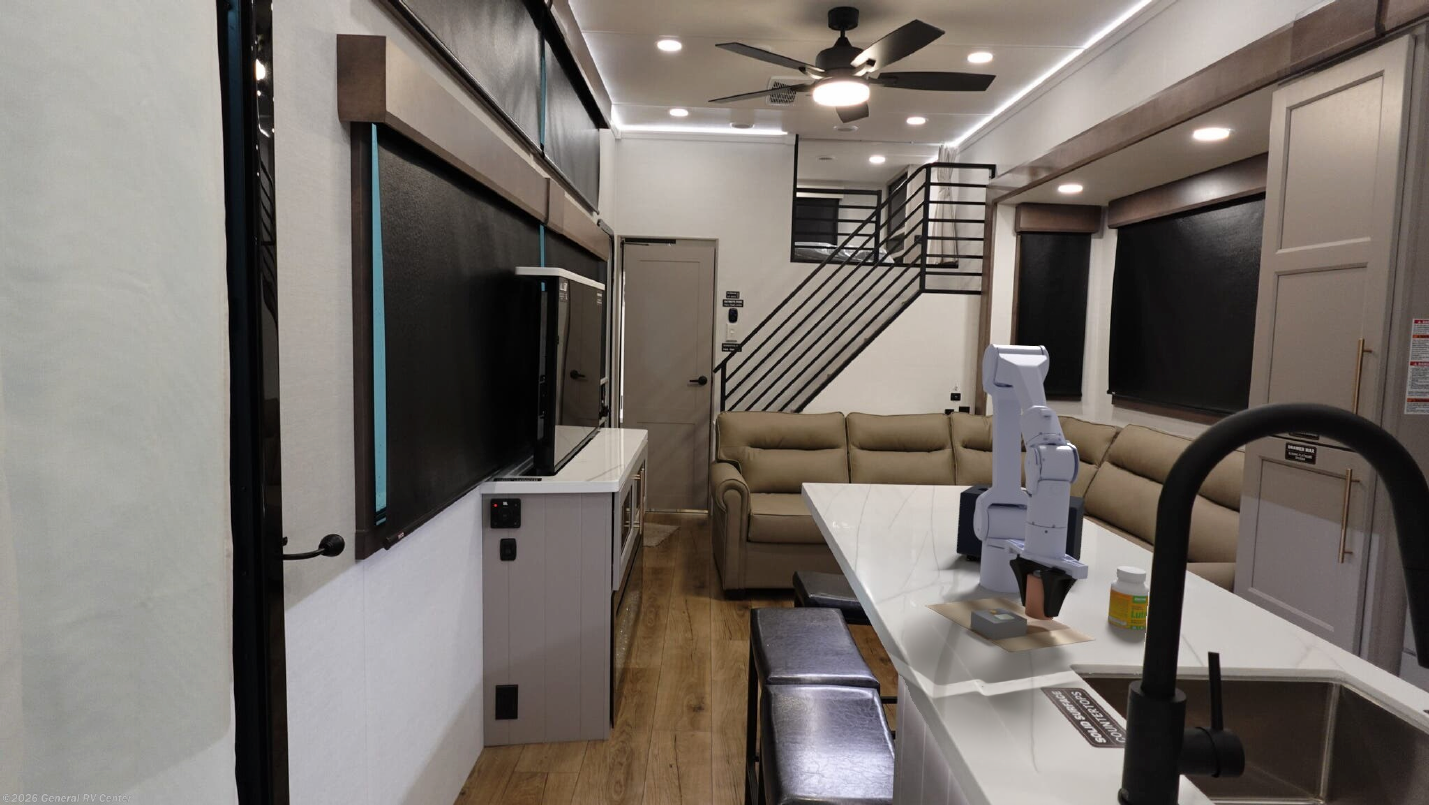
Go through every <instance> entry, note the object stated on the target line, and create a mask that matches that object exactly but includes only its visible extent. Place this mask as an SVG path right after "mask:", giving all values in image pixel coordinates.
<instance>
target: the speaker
mask: <svg viewBox="0 0 1429 805" xmlns="http://www.w3.org/2000/svg"><path fill="white" fill-rule="evenodd" d="M991 487H992V485H990V484H982V483H975V484H974V485H972V486H969V487H968V488H966V489H965V490H963V491H961V492H960V493H959V505H958V507H959V508H958V509H959V510H958V522H957V523H958V524H957V538H956V551H955V552H956V554H959V555H964V556H966V558H967V561H970V562H976V561H977V558H979V559H981V555H982V540H979V539H978V537H977V536H976V535H975V531H974V513H975V509H976V500H977V498H978V497H979V496H980V495H981V494H982V493H984V492H985V491H987V490H988V489H990V488H991ZM1022 490H1023V491H1024V492H1025V493H1026V494H1028V491H1026V489H1022ZM1085 502H1086V498H1084V497H1081V496H1074V495H1070V500H1069V512H1068V524H1067V537H1066V550H1065V554H1067V555H1069V556H1070V557H1072V558H1074V559H1075V560H1077V561H1079V562H1080V560H1081V552H1082V539H1083V528H1084V515H1085ZM989 506H1005V507H1020V506H1018V505H1015V504H999V503H992V504H991V505H989ZM1043 570H1044V571H1047V570H1051V568H1050V567H1047V566H1045V567H1044V569H1043Z"/></svg>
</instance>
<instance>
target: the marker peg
mask: <svg viewBox="0 0 1429 805" xmlns="http://www.w3.org/2000/svg"><path fill="white" fill-rule="evenodd" d="M1025 615H1027V616H1028V617H1031V618H1034V619H1038V620H1054V617H1052V618H1047V617H1045V615H1044V589H1043V583H1042V579H1041V576H1040V571H1034V572H1033V573H1029V574H1028V575H1027V590H1026V604H1025Z"/></svg>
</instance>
